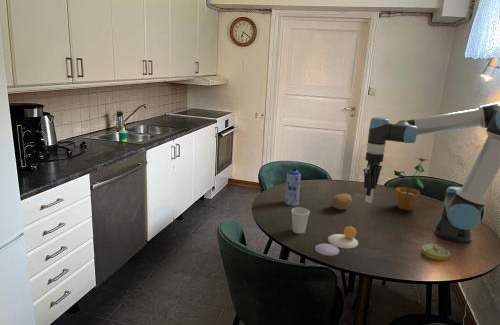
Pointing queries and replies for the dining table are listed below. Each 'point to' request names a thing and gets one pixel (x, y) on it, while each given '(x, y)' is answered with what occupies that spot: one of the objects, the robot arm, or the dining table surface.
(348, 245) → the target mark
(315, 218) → the dining table surface
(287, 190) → the aerosol can
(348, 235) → the ball
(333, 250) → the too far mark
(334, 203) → the potato
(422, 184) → the potted plant
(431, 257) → the decorated donut
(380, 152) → the robot arm
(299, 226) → the dixie cup
